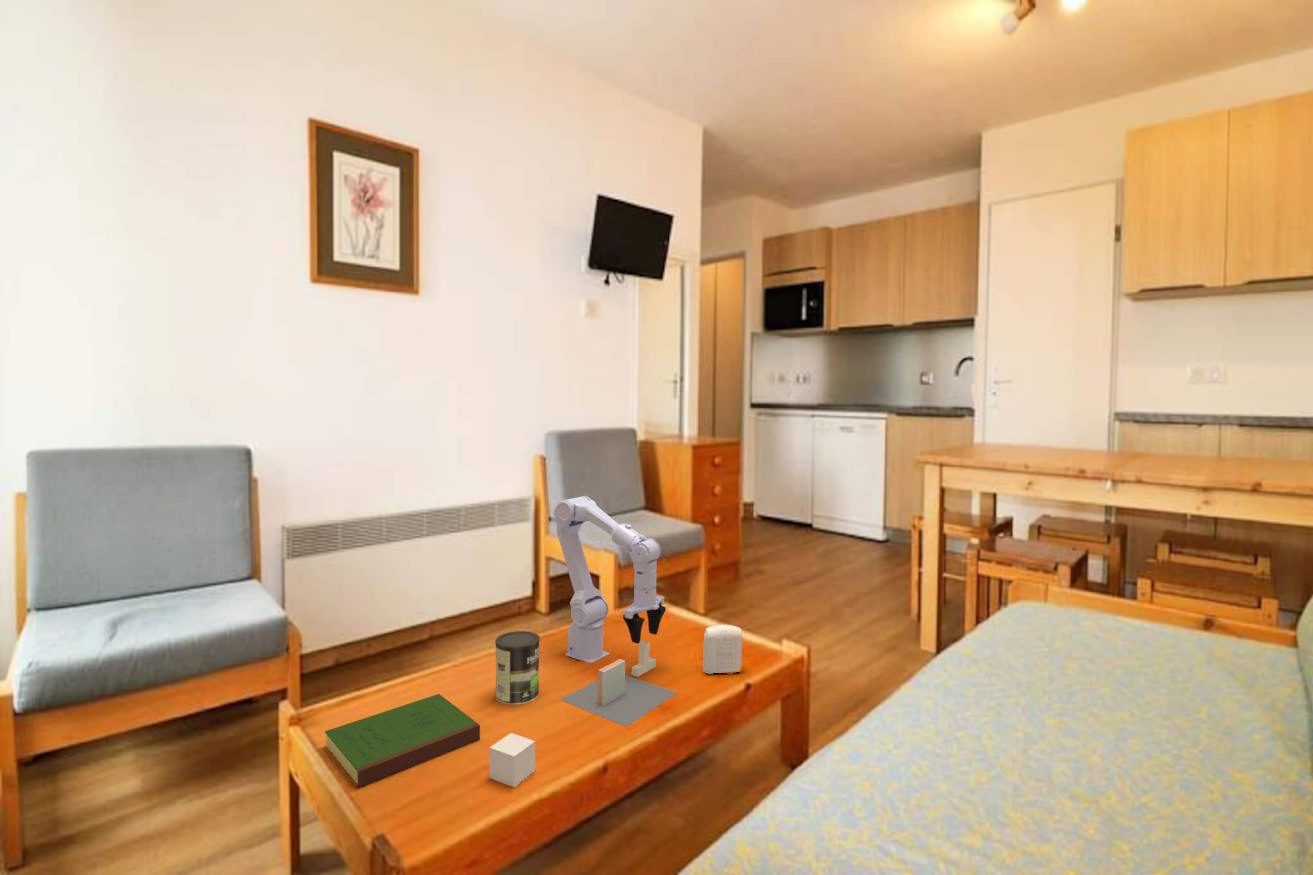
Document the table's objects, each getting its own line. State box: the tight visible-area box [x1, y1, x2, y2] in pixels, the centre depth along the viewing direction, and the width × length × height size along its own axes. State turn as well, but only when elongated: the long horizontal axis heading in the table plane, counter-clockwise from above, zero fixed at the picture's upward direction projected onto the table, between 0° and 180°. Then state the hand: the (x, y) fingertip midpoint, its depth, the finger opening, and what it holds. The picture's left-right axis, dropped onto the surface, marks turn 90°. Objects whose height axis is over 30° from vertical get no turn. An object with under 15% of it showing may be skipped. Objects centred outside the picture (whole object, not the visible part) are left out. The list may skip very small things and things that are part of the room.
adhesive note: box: [489, 733, 536, 788], centre depth 121 cm, size 6×6×6 cm
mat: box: [559, 674, 678, 728], centre depth 152 cm, size 20×20×1 cm
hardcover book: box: [324, 693, 481, 789], centre depth 131 cm, size 25×19×4 cm
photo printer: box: [702, 624, 743, 675], centre depth 167 cm, size 10×4×12 cm, turn 98°
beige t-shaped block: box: [630, 640, 657, 678], centre depth 166 cm, size 2×8×8 cm, turn 144°
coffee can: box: [494, 630, 541, 705], centre depth 152 cm, size 10×10×14 cm
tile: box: [597, 658, 626, 706], centre depth 150 cm, size 2×8×8 cm, turn 144°
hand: (644, 637), depth 166 cm, fingers open, 7 cm apart
